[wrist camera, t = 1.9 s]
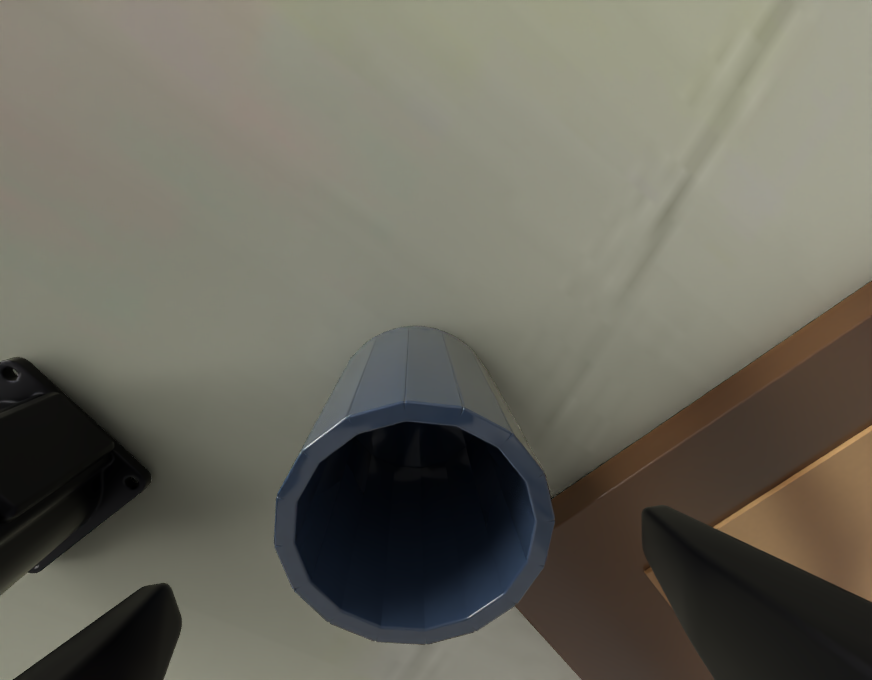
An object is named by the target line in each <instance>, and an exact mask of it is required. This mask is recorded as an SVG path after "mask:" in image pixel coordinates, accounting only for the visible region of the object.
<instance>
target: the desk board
mask: <svg viewBox="0 0 872 680" xmlns="http://www.w3.org/2000/svg"><path fill="white" fill-rule="evenodd" d="M551 501H552V506H553V510H554V514H555V524H554V529H553V533H552V538H551V542H550V546H549V551H548V555H547V560H546V564H545V565H544V568H543V570H542V571H541V573H540V574H539V575H538V577H537V578H536V579H535V581H534V582H533V584H532V585H531V586H530V588H529V589H528V590H527V592H526V593H525V594H524V596H523V597H522V599H521V600H520V601H519V603H518V604H516V605H515V607H516V608H517V609H518V610H519V611H520V612H521V613H522V614H523V615H524V617H525V618H526V619H527V620H528V621H529V622H530V623H531V624H532V625H533V626H534V628H535V629H536V630H537V631H538V632H539V633H540V634H541V635H542V636H543V638H544V639H545V640H546V641H547V642H548V643H549V644H550V645H551V646H552V647H553V649H554V650H555V651H556V652H557V653H558V654H559V655H560V656H561V657H562V658H563V660H564V661H565V662H566V663H567V664H568V665H569V666H570V667H571V668H572V670H573V671H574V672H575V673H576V674H577V675H578V676H579V677H580V678H581V679H582V680H715V679H714V678H713V676H712V675H711V673H710V672H709V670H708V669H707V667H706V666H705V664H704V662H703V661H702V659H701V658H700V656H699V655H698V653H697V651H696V650H695V648H694V646H693V645H692V643H691V642H690V640H689V638H688V636H687V634H686V633H685V631H684V629H683V627H682V625H681V623H680V622H679V620H678V618H677V616H676V614H675V612H674V610H673V608H672V606H671V604H670V603H669V601H668V599H667V597H666V595H665V593H664V591H663V589H662V587H661V585H660V584H659V582H658V580H657V578H656V576H655V574H654V572H653V570H652V568H651V567H650V565H649V563H648V561H647V559H646V557H645V554H644V551H643V547H642V518H641V516H642V511H643V509H644V508H646V507H652V506H658V505H666V506H668V507H671V508H673V509H675V510H677V511H679V512H681V513H683V514H686V515H688V516H690V517H692V518H694V519H696V520H698V521H700V522H703V523H705V524H707V525H709V526H711V527H713V528H715V529H717V530H720V531H722V532H724V533H726V534H728V535H730V536H732V537H734V538H737V539H739V540H741V541H743V542H745V543H747V544H749V545H752V546H754V547H756V548H758V549H760V550H762V551H764V552H766V553H769V554H771V555H773V556H775V557H777V558H779V559H781V560H783V561H786V562H788V563H790V564H792V565H794V566H796V567H798V568H800V569H803V570H805V571H807V572H809V573H811V574H813V575H815V576H817V577H820V578H822V579H824V580H826V581H828V582H830V583H832V584H835V585H837V586H839V587H841V588H843V589H845V590H847V591H849V592H852V593H854V594H856V595H858V596H860V597H862V598H864V599H866V600H869V601H871V602H872V281H871V282H869V283H868V284H866V285H865V286H863V287H862V288H860V289H859V290H857V291H856V292H855V293H853V294H852V295H850V296H849V297H847V298H846V299H844V300H843V301H841V302H840V303H838V304H837V305H835V306H834V307H833V308H831V309H830V310H828V311H827V312H825V313H824V314H822V315H821V316H819V317H818V318H816V319H815V320H814V321H812V322H811V323H809V324H808V325H806V326H805V327H803V328H802V329H800V330H799V331H797V332H796V333H794V334H793V335H792V336H790V337H789V338H787V339H786V340H784V341H783V342H781V343H780V344H778V345H777V346H775V347H774V348H772V349H771V350H770V351H768V352H767V353H765V354H764V355H762V356H761V357H759V358H758V359H756V360H755V361H753V362H752V363H750V364H749V365H748V366H746V367H745V368H743V369H742V370H740V371H739V372H737V373H736V374H734V375H733V376H731V377H730V378H729V379H727V380H726V381H724V382H723V383H721V384H720V385H718V386H717V387H715V388H714V389H712V390H711V391H709V392H708V393H707V394H705V395H704V396H702V397H701V398H699V399H698V400H696V401H695V402H693V403H692V404H690V405H689V406H687V407H686V408H685V409H683V410H682V411H680V412H679V413H677V414H676V415H674V416H673V417H671V418H670V419H668V420H667V421H665V422H664V423H663V424H661V425H660V426H658V427H657V428H655V429H654V430H652V431H651V432H649V433H648V434H646V435H645V436H644V437H642V438H641V439H639V440H638V441H636V442H635V443H633V444H632V445H630V446H629V447H627V448H626V449H624V450H623V451H622V452H620V453H619V454H617V455H616V456H614V457H613V458H611V459H610V460H608V461H607V462H605V463H604V464H602V465H601V466H600V467H598V468H597V469H595V470H594V471H592V472H591V473H589V474H588V475H586V476H585V477H583V478H582V479H581V480H579V481H578V482H576V483H575V484H573V485H572V486H570V487H569V488H567V489H566V490H564V491H563V492H561V493H560V494H559V495H557V496H556V497H554V498H553V499H551Z"/></svg>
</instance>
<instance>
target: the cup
mask: <svg viewBox="0 0 872 680" xmlns="http://www.w3.org/2000/svg"><path fill="white" fill-rule="evenodd" d="M554 524H555V514H554V510H553V506H552V501H551V497H550V492H549V488H548V484H547V479H546V475H545V473H544V470H543V469H542V467H541V465H540V463H539V462H538V460H537V458H536V456H535V454H534V453H533V451H532V449H531V447H530V445H529V444H528V442H527V440H526V438H525V436H524V435H523V433H522V431H521V429H520V428H519V426H518V424H517V422H516V420H515V419H514V417H513V415H512V413H511V411H510V410H509V408H508V406H507V404H506V402H505V401H504V399H503V397H502V395H501V393H500V392H499V390H498V388H497V386H496V385H495V383H494V381H493V379H492V377H491V376H490V374H489V372H488V370H487V369H486V368H485V366H484V365H483V364H482V362H481V361H480V359H479V358H478V356H477V355H476V354H475V353H474V351H473V350H472V349H471V348H470V347H469V346H468V345H466V344H465V343H464V342H463V341H461V340H460V339H458V338H457V337H455V336H453V335H451V334H449V333H447V332H445V331H442V330H439V329H436V328H431V327H425V326H406V327H400V328H395V329H392V330H389V331H386V332H383V333H381V334H379V335H377V336H375V337H373V338H372V339H371V340H369V341H368V342H366V343H365V344H364V345H363V346H362V347H360V348H359V349H358V350H357V352H356V353H355V354H354V355H353V356H352V357H351V358H350V360H349V362H348V364H347V365H346V367H345V369H344V371H343V373H342V375H341V376H340V378H339V380H338V382H337V384H336V385H335V387H334V389H333V391H332V393H331V395H330V397H329V398H328V400H327V402H326V404H325V406H324V408H323V410H322V411H321V413H320V415H319V417H318V419H317V421H316V423H315V424H314V426H313V428H312V430H311V432H310V434H309V436H308V437H307V439H306V441H305V443H304V445H303V447H302V449H301V450H300V452H299V454H298V456H297V458H296V460H295V462H294V463H293V465H292V467H291V469H290V471H289V473H288V474H287V476H286V478H285V480H284V482H283V484H282V486H281V487H280V489H279V491H278V493H277V497H276V507H275V528H274V545H275V550H276V552H277V554H278V557H279V559H280V561H281V564H282V566H283V568H284V571H285V573H286V575H287V578H288V580H289V582H290V585H291V587H292V589H294V592H296V593H297V594H298V595H299V596H300V597H301V598H302V599H303V600H304V601H305V602H306V603H307V604H308V605H310V606H311V607H312V608H313V609H314V610H315V611H316V612H317V613H318V614H319V615H320V616H321V617H322V618H324V619H325V620H326V621H327V622H330V624H332V625H334V626H337V627H339V628H342V629H344V630H347V631H349V632H352V633H354V634H356V635H359V636H361V637H364V638H366V639H369V640H371V641H376V642H383V643H400V644H418V645H425V644H432V643H436V642H439V641H443V640H447V639H451V638H455V637H459V636H462V635H466V634H470V633H473V632H474V631H478V630H479V629H481V628H482V627H484V626H485V625H487V624H488V623H490V622H491V621H493V620H494V619H496V618H498V617H499V616H501V615H502V614H504V613H505V612H507V611H508V610H510V609H511V608H513V607H514V606H515V605H516V604H518V603H519V601H520V600H521V599H522V597H523V596H524V594H525V593H526V592H527V590H528V589H529V588H530V586H531V585H532V584H533V582H534V581H535V579H536V578H537V577H538V575H539V574H540V573H541V571H542V570H543V568H544V565H545V564H546V560H547V555H548V551H549V546H550V542H551V538H552V533H553V529H554Z"/></svg>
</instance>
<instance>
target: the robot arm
mask: <svg viewBox="0 0 872 680" xmlns="http://www.w3.org/2000/svg"><path fill="white" fill-rule="evenodd" d="M13 369H15V370H16V372H17V373H18V376H17V375H15V373H14V372H13ZM131 477H133V478H135V479H136V480H137V481H138V483H136V482H134V481H133V480H132V478H131ZM151 479H152V478H151V474H150V473H149V471H148V470H147V469H146V468H145V467H144V466H143V465H142V464H141V463H139V462H138V461H137V460H136V459H135V458H134V457H133V456H132V455H131V454H130V453H129V452H128V451H126V450H125V449H124V448H123V447H122V446H121V445H120V444H119V443H118V442H117V441H116V440H114V439H113V438H112V437H111V436H110V435H109V434H108V433H107V432H106V431H105V430H104V429H102V428H101V427H100V426H99V425H98V424H97V423H96V422H95V421H94V420H93V419H92V418H90V417H89V416H88V415H87V414H86V413H85V412H84V411H83V410H82V409H81V408H80V407H78V406H77V405H76V404H75V403H74V402H73V401H72V400H71V399H70V398H69V397H68V396H66V395H65V394H64V393H63V392H62V391H61V390H60V389H59V388H58V387H57V386H56V385H55V384H53V383H52V382H51V381H50V380H49V379H48V378H47V377H46V376H45V375H44V374H43V373H41V372H40V371H39V370H38V369H37V368H36V367H35V366H34V365H33V364H32V363H31V362H29V361H28V360H26V359H24V358H20V357H14V358H10V359H7V360H3V361H1V362H0V595H2V594H3V593H4V592H5V591H6V590H7V589H9V588H10V587H11V586H12V585H13V584H14V583H15V582H17V581H18V580H19V579H20V578H21V577H22V576H24V575H25V574H26V573H27V572H28V573H37V572H39V571H41V570H43V569H44V568H45V567H46V566H48V565H49V564H50V563H51V562H53V561H54V560H55V559H57V558H58V557H59V556H60V555H62V554H63V553H64V552H66V551H67V550H68V549H69V548H71V547H72V546H73V545H74V544H76V543H77V542H78V541H80V540H81V539H82V538H83V537H85V536H86V535H87V534H89V533H90V532H91V531H92V530H94V529H95V528H96V527H97V526H99V525H100V524H101V523H103V522H104V521H105V520H106V519H108V518H109V517H110V516H112V515H113V514H114V513H115V512H117V511H118V510H119V509H120V508H122V507H123V506H124V505H126V504H127V503H128V502H129V501H131V500H132V499H133V498H135V497H136V496H137V495H138V494H140V493H141V492H142V491H143V490H144V489H145V488H146V487H147V486H148V485H149V484H150V483H151ZM641 518H642V547H643V551H644V554H645V557H646V559H647V561H648V563H649V565H650V567H651V568H652V570H653V572H654V574H655V576H656V578H657V580H658V582H659V584H660V585H661V587H662V589H663V591H664V593H665V595H666V597H667V599H668V601H669V603H670V604H671V606H672V608H673V610H674V612H675V614H676V616H677V618H678V620H679V622H680V623H681V625H682V627H683V629H684V631H685V633H686V634H687V636H688V638H689V640H690V642H691V643H692V645H693V646H694V648H695V650H696V651H697V653H698V655H699V656H700V658H701V659H702V661H703V662H704V664H705V666H706V667H707V669H708V670H709V672H710V673H711V675H712V676H713V678H714V679H715V680H872V602H871V601H869V600H866V599H864V598H862V597H860V596H858V595H856V594H854V593H852V592H849V591H847V590H845V589H843V588H841V587H839V586H837V585H835V584H832V583H830V582H828V581H826V580H824V579H822V578H820V577H817V576H815V575H813V574H811V573H809V572H807V571H805V570H803V569H800V568H798V567H796V566H794V565H792V564H790V563H788V562H786V561H783V560H781V559H779V558H777V557H775V556H773V555H771V554H769V553H766V552H764V551H762V550H760V549H758V548H756V547H754V546H752V545H749V544H747V543H745V542H743V541H741V540H739V539H737V538H734V537H732V536H730V535H728V534H726V533H724V532H722V531H720V530H717V529H715V528H713V527H711V526H709V525H707V524H705V523H703V522H700V521H698V520H696V519H694V518H692V517H690V516H688V515H686V514H683V513H681V512H679V511H677V510H675V509H673V508H671V507H668V506H666V505H658V506H652V507H646V508H644V509H643V511H642V516H641ZM181 627H182V618H181V614H180V611H179V608H178V605H177V603H176V600H175V597H174V594H173V591H172V589H171V587H170V586H169V585H168V584H166V583H160V584H154V585H148V586H144V587H142V588H140V589H139V590H137V591H136V592H134V593H133V594H132V595H130V596H129V597H127V598H126V599H125V600H123V601H122V602H120V603H119V604H118V605H116V606H115V607H113V608H112V609H111V610H109V611H108V612H107V613H105V614H104V615H102V616H101V617H100V618H98V619H97V620H95V621H94V622H93V623H91V624H90V625H88V626H87V627H86V628H84V629H83V630H81V631H80V632H79V633H77V634H76V635H75V636H73V637H72V638H70V639H69V640H68V641H66V642H65V643H63V644H62V645H61V646H59V647H58V648H56V649H55V650H54V651H52V652H51V653H49V654H48V655H47V656H45V657H44V658H42V659H41V660H40V661H38V662H37V663H36V664H34V665H33V666H31V667H30V668H29V669H27V670H26V671H24V672H23V673H22V674H20V675H19V676H17V677H16V678H15V679H13V680H163V679H164V676H165V674H166V671H167V668H168V665H169V663H170V660H171V657H172V654H173V652H174V649H175V646H176V643H177V641H178V638H179V635H180V632H181Z"/></svg>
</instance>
